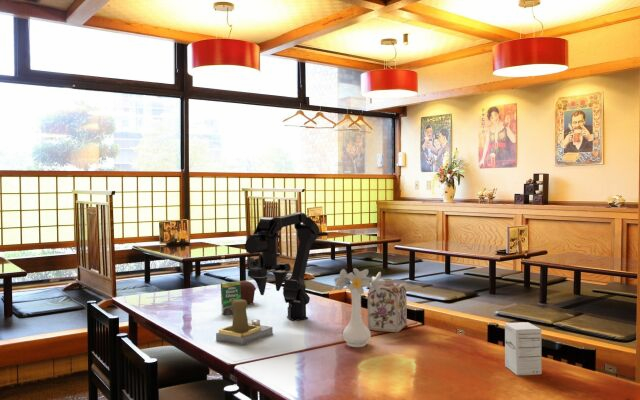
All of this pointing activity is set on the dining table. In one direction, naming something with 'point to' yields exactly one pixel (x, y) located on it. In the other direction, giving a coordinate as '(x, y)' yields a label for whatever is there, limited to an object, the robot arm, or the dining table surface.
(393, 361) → the dining table surface
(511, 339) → the supplement box
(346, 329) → the flower vase
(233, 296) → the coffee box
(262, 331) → the grey base with knob
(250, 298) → the muffin
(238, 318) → the cork
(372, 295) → the decorative jar
